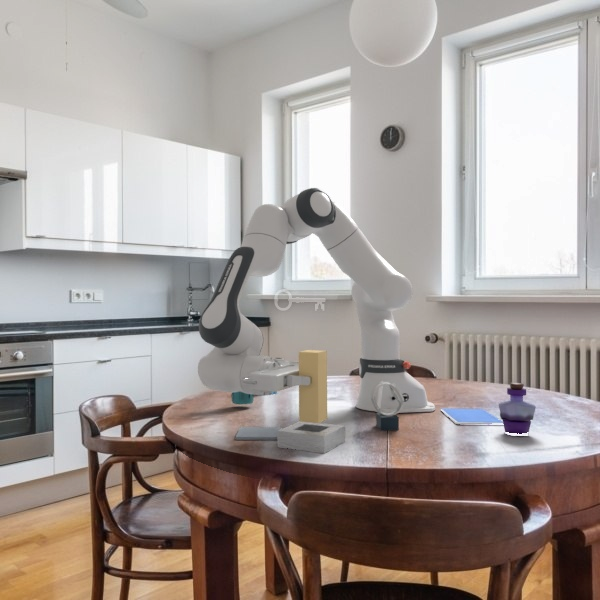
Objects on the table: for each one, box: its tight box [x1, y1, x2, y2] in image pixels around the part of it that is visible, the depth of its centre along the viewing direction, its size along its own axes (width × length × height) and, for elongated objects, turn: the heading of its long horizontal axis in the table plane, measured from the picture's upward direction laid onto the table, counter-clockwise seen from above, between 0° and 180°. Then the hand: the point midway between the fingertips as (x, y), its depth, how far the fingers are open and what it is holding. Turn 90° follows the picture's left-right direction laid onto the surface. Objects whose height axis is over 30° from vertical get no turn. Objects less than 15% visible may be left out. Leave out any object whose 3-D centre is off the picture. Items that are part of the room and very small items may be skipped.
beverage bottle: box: [231, 392, 255, 405], centre depth 167 cm, size 6×7×20 cm
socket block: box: [276, 420, 346, 454], centre depth 125 cm, size 11×11×4 cm
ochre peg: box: [298, 349, 328, 423], centre depth 125 cm, size 5×5×15 cm
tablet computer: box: [439, 408, 503, 425], centre depth 154 cm, size 19×13×1 cm, turn 179°
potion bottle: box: [498, 382, 536, 434], centre depth 135 cm, size 9×9×12 cm
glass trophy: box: [371, 382, 404, 432], centre depth 141 cm, size 6×8×11 cm
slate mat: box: [235, 426, 282, 441], centre depth 134 cm, size 10×10×1 cm
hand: (316, 378), depth 125 cm, fingers closed on ochre peg, 5 cm apart
